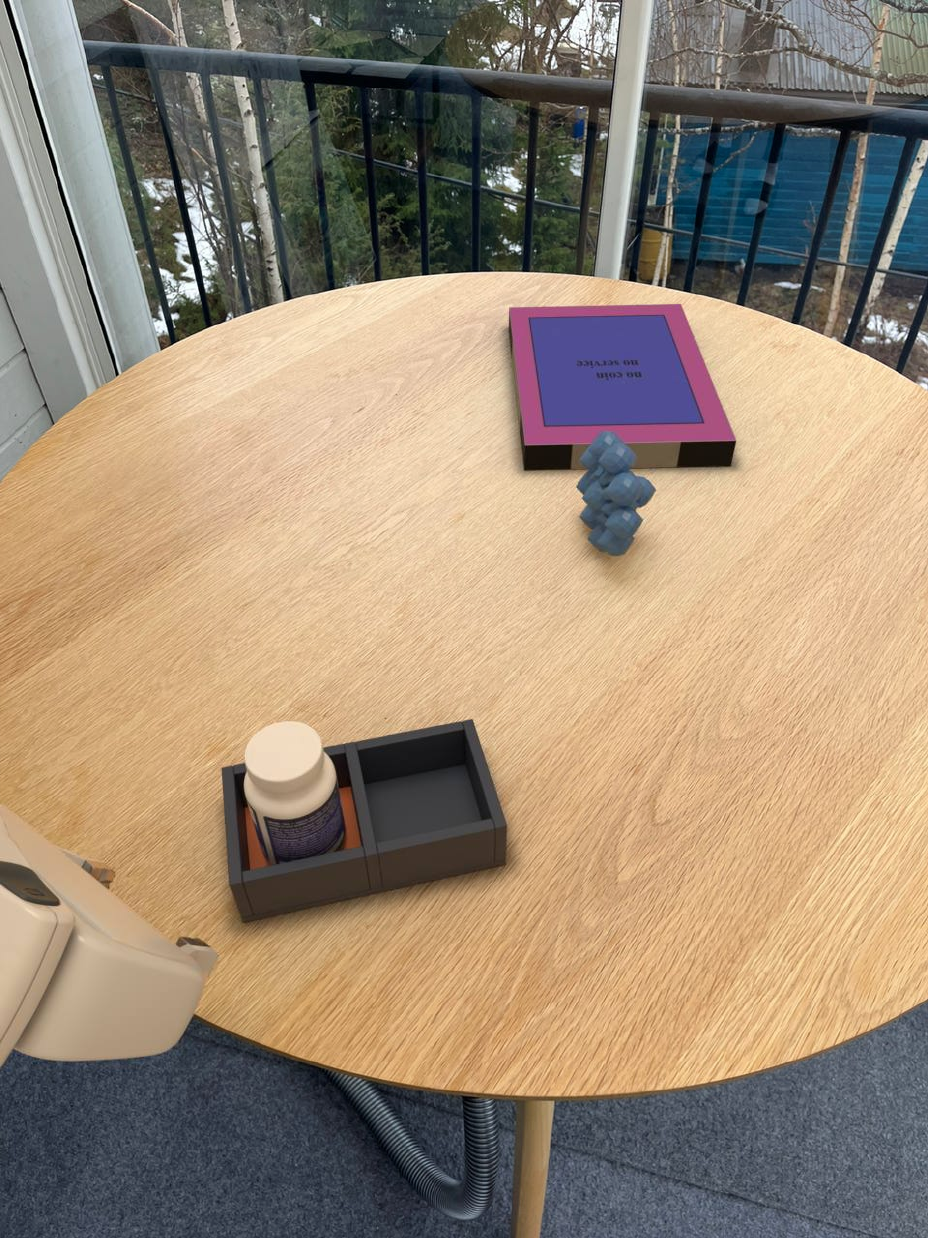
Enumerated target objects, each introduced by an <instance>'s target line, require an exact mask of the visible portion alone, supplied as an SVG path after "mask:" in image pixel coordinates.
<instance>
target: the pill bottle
mask: <svg viewBox="0 0 928 1238" xmlns="http://www.w3.org/2000/svg"><path fill="white" fill-rule="evenodd" d="M323 748H324V746H323V742H322V738H321V736H320V734H319V733H318V732H317V731H316V730H315V729H314V728H313V727H311V726H310V725H308V724H306V723H304V722H300V721H293V720H286V721H284V720H283V721H278V722H275V723H272V724H269V725H267V726H264V727H263V728H262V729H259V731H256V733H255V734H254V735H253V736H252V737H251V738H250V740H249V741H248V743H247V745H246V747H245V750H244V756H243V757H244V758H243V759H244V763H245V765H246V769H247V772H246V775H245V780H244V791H245V796H246V800H247V803H248V806H249V810H250V813H251V816H252V820H253V823H254V827H255V830H256V834H257V837H258V841H259V844H260V847H261V850H262V853H263V855H264V858H265V859H266V861H267V862H268V864H269V865H270V866H271V865H276V864H280V863H285V862H290V861H295V860H299V859H304V858H309V857H313V856H318V855H323V854H328V853H332V852H337V851H342V850H343V848H344V846H345V842H346V826H345V820H344V815H343V809H342V803H341V798H340V792H339V787H338V781H337V776H336V771H335V768H334V765H333V763H332V761H331V759H330V758H329V756H328V755H327V754H326V753H325V752H324V750H323Z"/></svg>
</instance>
